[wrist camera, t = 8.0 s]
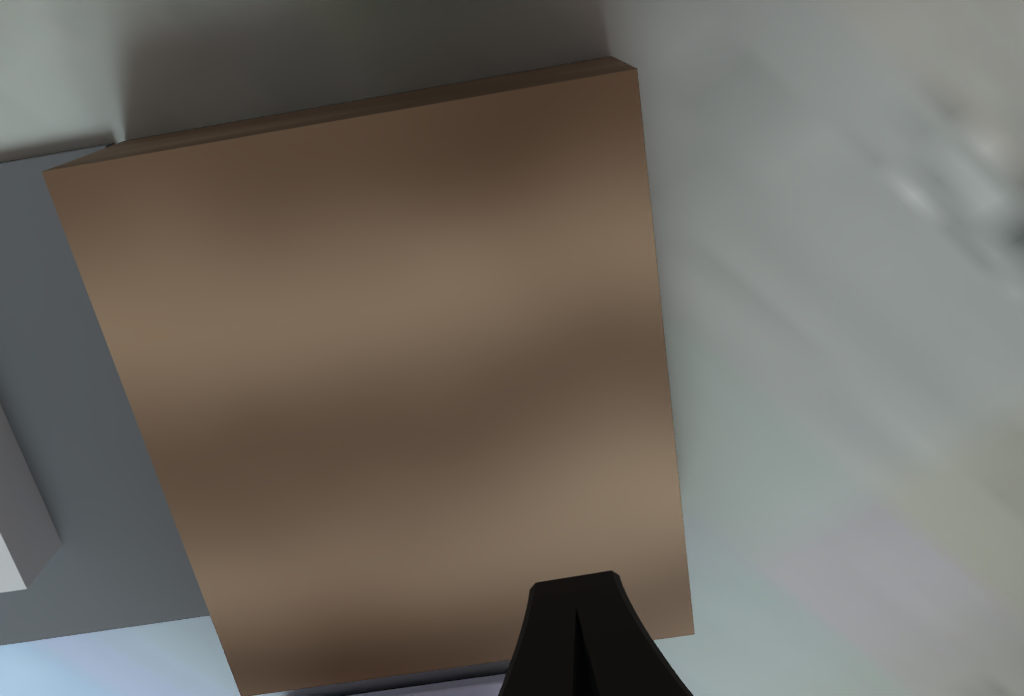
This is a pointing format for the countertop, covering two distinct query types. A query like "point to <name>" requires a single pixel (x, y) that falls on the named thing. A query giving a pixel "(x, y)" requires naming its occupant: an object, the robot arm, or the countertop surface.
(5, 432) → the tile
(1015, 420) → the countertop surface
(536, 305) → the flat brown box
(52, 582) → the mat
